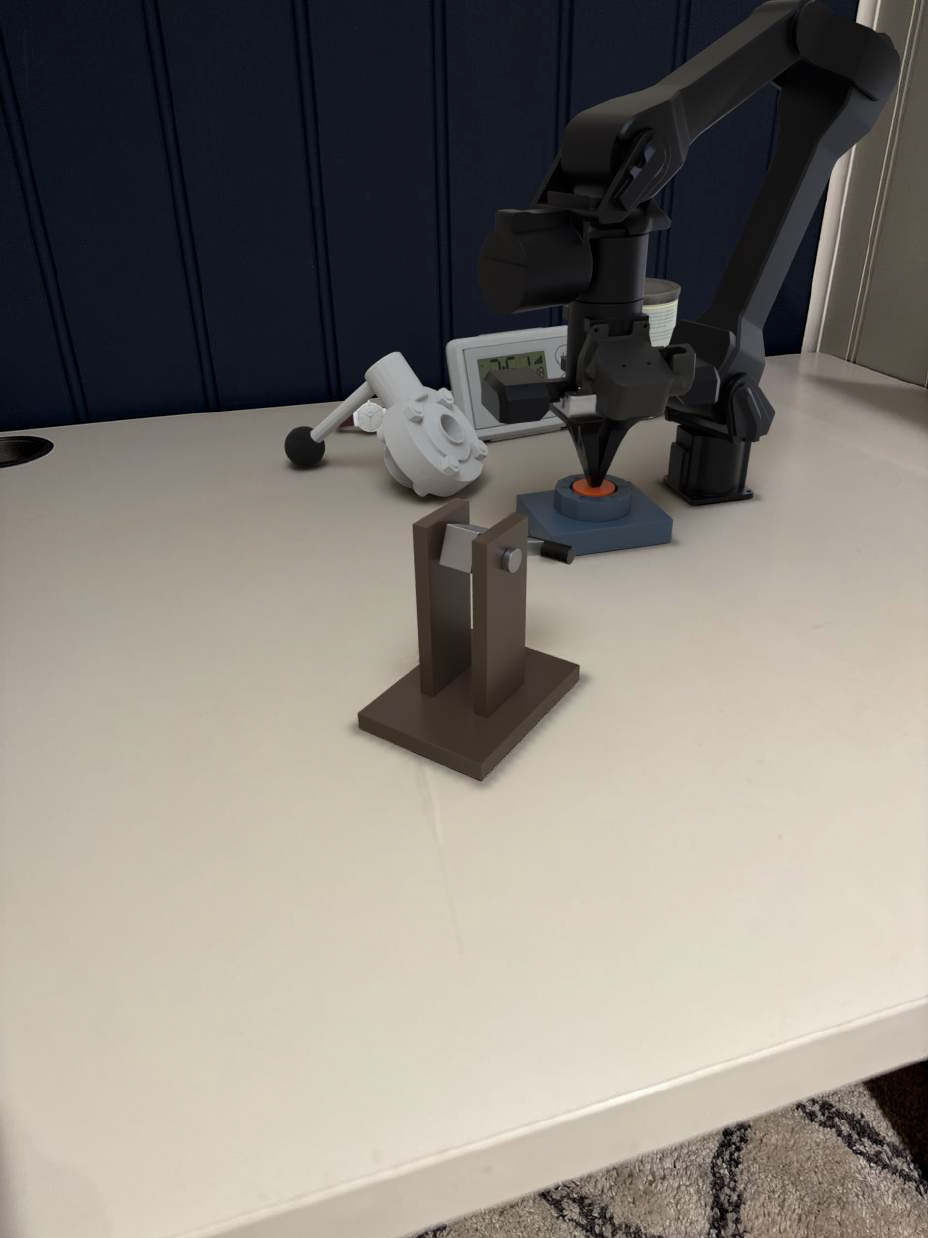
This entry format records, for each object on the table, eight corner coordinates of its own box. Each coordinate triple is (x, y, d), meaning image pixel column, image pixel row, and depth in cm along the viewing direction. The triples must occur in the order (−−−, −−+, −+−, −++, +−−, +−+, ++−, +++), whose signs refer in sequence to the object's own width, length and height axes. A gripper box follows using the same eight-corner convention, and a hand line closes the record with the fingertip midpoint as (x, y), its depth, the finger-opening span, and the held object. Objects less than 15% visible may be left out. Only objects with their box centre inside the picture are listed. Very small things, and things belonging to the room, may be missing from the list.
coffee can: (564, 407, 109) (569, 285, 102) (618, 389, 115) (627, 273, 108) (632, 426, 102) (642, 298, 95) (685, 407, 108) (699, 284, 101)
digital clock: (456, 448, 97) (454, 349, 92) (439, 422, 105) (436, 329, 99) (597, 435, 100) (604, 338, 95) (571, 411, 108) (575, 319, 102)
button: (603, 494, 80) (605, 475, 79) (620, 510, 77) (621, 491, 76) (565, 499, 79) (566, 480, 78) (580, 515, 76) (581, 496, 75)
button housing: (627, 502, 84) (630, 461, 82) (670, 542, 77) (675, 499, 75) (515, 516, 82) (516, 475, 80) (549, 559, 74) (551, 515, 72)
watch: (338, 437, 101) (335, 406, 99) (333, 424, 105) (331, 393, 103) (406, 431, 102) (404, 400, 100) (398, 418, 106) (397, 388, 104)
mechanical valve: (457, 488, 80) (361, 346, 79) (336, 576, 91) (249, 452, 89) (505, 459, 88) (419, 330, 87) (389, 543, 99) (310, 429, 98)
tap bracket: (466, 640, 64) (463, 470, 57) (579, 679, 59) (590, 500, 53) (358, 728, 55) (340, 540, 49) (481, 781, 51) (479, 583, 44)
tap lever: (505, 555, 61) (513, 520, 60) (571, 573, 58) (579, 537, 58) (418, 558, 52) (426, 517, 51) (491, 580, 49) (500, 538, 49)
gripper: (523, 329, 60) (520, 538, 68) (770, 309, 64) (739, 509, 72) (478, 297, 70) (479, 485, 78) (696, 281, 74) (676, 461, 82)
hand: (594, 485), depth 77 cm, fingers closed, pressing on button
